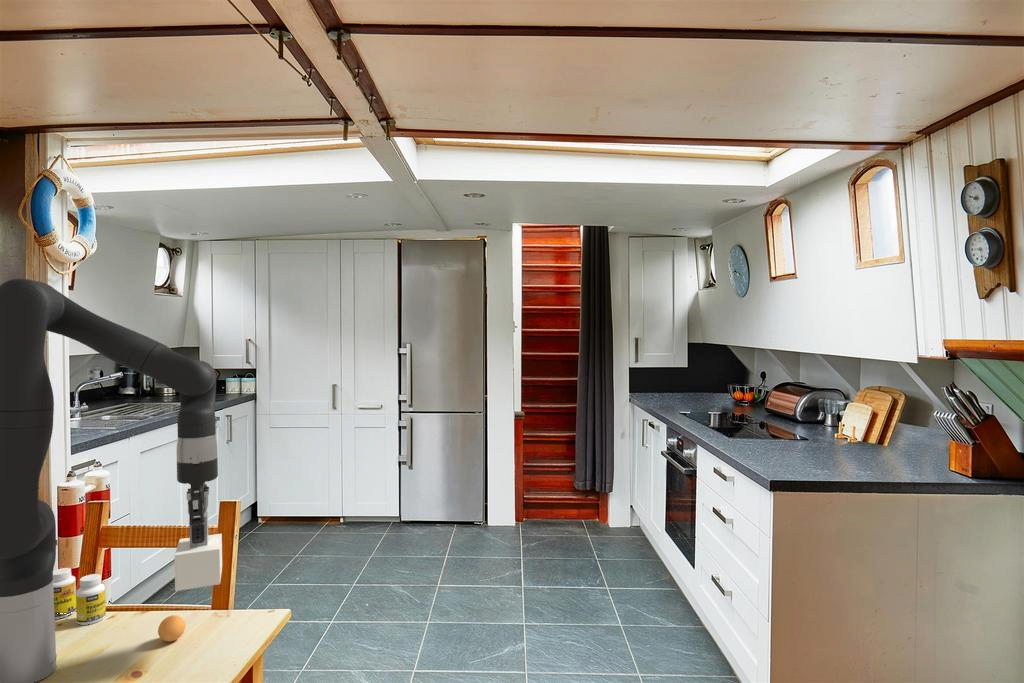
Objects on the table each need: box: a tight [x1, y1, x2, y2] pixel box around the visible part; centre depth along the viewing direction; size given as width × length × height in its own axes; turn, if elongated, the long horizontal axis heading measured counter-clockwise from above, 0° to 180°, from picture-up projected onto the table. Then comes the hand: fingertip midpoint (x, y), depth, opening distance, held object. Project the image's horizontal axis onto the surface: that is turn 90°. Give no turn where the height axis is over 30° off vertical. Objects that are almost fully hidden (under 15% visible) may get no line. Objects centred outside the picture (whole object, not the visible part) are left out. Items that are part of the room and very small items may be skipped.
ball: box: [157, 614, 186, 643], centre depth 126 cm, size 5×5×5 cm
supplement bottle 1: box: [53, 567, 77, 620], centre depth 138 cm, size 6×6×10 cm
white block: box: [174, 511, 223, 592], centre depth 124 cm, size 8×10×13 cm
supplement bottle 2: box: [75, 573, 107, 626], centre depth 135 cm, size 5×5×10 cm
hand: (198, 539), depth 124 cm, fingers closed on white block, 3 cm apart
